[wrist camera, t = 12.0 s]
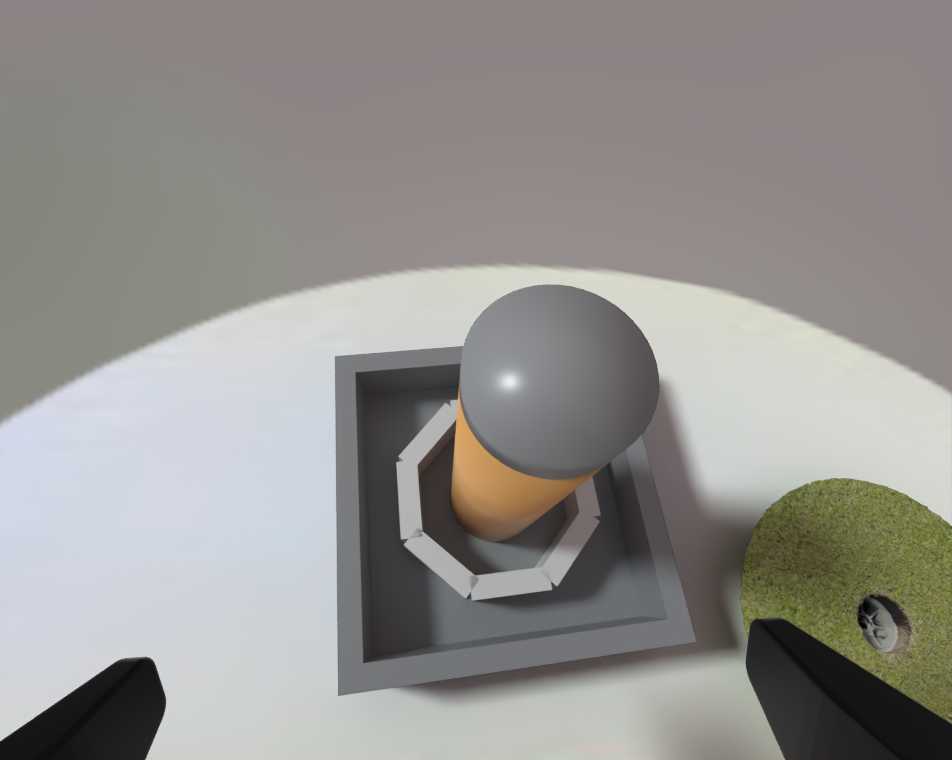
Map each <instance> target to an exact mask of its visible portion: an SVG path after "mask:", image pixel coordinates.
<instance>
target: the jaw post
mask: <svg viewBox="0 0 952 760" xmlns="http://www.w3.org/2000/svg"><path fill="white" fill-rule="evenodd" d="M658 394H659V374H658V369H657V363H656V360H655V357H654V354H653V351H652V349H651V347H650V345H649V343H648V341H647V339H646V338H645V336H644V334H643V333H642V331H641V330H640V329H639V327H638V326H637V325H636V324H635V323H634V321H633V320H632V319H631V318H630V317H629V316H628V315H627V314H626V313H624V312H623V311H622V310H621V309H619V308H618V307H617V306H616V305H614V304H612V303H611V302H609V301H608V300H606V299H604V298H602V297H600V296H598V295H596V294H594V293H591V292H589V291H586V290H583V289H579V288H575V287H571V286H564V285H537V286H531V287H526V288H522V289H519V290H516V291H513V292H511V293H509V294H507V295H505V296H503V297H501V298H500V299H498V300H497V301H495V302H494V303H492V304H491V305H490V306H489V307H488V308H486V309H485V310H484V311H483V312H482V313H481V315H480V316H479V317H478V318H477V319H476V321H475V322H474V324H473V325H472V327H471V329H470V331H469V333H468V335H467V337H466V340H465V343H464V347H463V350H462V357H461V367H460V380H459V394H458V407H457V420H456V433H455V446H454V460H453V473H452V486H451V506H452V510H453V513H454V515H455V518H456V519H457V521H458V523H459V524H460V525H461V527H462V528H463V529H464V530H465V531H466V532H468V533H469V534H470V535H472V536H474V537H475V538H478V539H480V540H483V541H488V542H500V541H505V540H508V539H511V538H513V537H515V536H516V535H518V534H519V533H520V532H522V531H523V530H524V529H526V528H527V527H528V526H529V525H531V524H532V523H533V522H534V521H536V520H537V519H538V518H539V517H541V516H542V515H543V514H545V513H546V512H547V511H548V510H550V509H551V508H552V507H553V506H555V505H556V504H557V503H559V502H560V501H561V500H562V499H564V498H565V497H566V496H567V495H569V494H570V493H571V492H573V491H574V490H575V489H576V488H578V487H579V486H580V485H581V484H583V483H584V482H585V481H586V480H588V479H589V478H590V477H592V476H593V475H594V474H595V473H597V472H598V471H599V470H600V469H602V468H603V467H604V466H606V465H607V464H608V463H609V462H611V461H612V460H613V459H614V458H616V457H617V456H618V455H620V454H621V453H622V452H623V451H625V450H626V449H627V448H628V447H629V446H631V445H632V444H633V443H634V442H635V441H636V440H637V439H638V438H639V437H640V436H641V434H642V433H643V432H644V431H645V429H646V427H647V426H648V424H649V423H650V421H651V419H652V416H653V414H654V411H655V409H656V405H657V401H658Z"/></svg>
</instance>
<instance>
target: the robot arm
mask: <svg viewBox="0 0 952 760" xmlns="http://www.w3.org/2000/svg"><path fill="white" fill-rule="evenodd" d="M746 669H747V673H748V676H749V679H750V682H751V684H752V686H753V688H754V691H755V693H756V695H757V697H758V700H759V702H760V704H761V706H762V709H763V711H764V713H765V715H766V718H767V720H768V722H769V724H770V727H771V729H772V731H773V733H774V736H775V738H776V740H777V742H778V745H779V747H780V749H781V751H782V754H783V756H784V758H785V760H952V723H950V722H949V721H947V720H945V719H944V718H942V717H941V716H939V715H937V714H936V713H934V712H933V711H931V710H929V709H928V708H926V707H925V706H923V705H921V704H920V703H918V702H917V701H915V700H914V699H912V698H910V697H909V696H907V695H906V694H904V693H902V692H901V691H899V690H898V689H896V688H894V687H893V686H891V685H890V684H888V683H886V682H885V681H883V680H882V679H880V678H878V677H877V676H875V675H874V674H872V673H870V672H869V671H867V670H866V669H864V668H862V667H861V666H859V665H858V664H856V663H855V662H853V661H851V660H850V659H848V658H847V657H845V656H843V655H842V654H840V653H839V652H837V651H835V650H834V649H832V648H831V647H829V646H827V645H826V644H824V643H823V642H821V641H819V640H818V639H816V638H815V637H813V636H811V635H810V634H808V633H807V632H805V631H803V630H802V629H800V628H799V627H797V626H795V625H794V624H792V623H791V622H789V621H787V620H786V619H783V618H780V617H768V618H756V619H754V620H753V621H752V622H751V624H750V629H749V637H748V646H747V654H746ZM165 707H166V697H165V693H164V690H163V687H162V684H161V681H160V678H159V675H158V671H157V668H156V665H155V663H154V661H153V660H152V659H151V658H148V657H136V658H125V659H121V660H118V661H117V662H115V663H114V664H112V665H111V666H109V667H108V668H106V669H105V670H103V671H102V672H100V673H99V674H98V675H96V676H95V677H93V678H92V679H90V680H89V681H87V682H86V683H84V684H83V685H82V686H80V687H79V688H77V689H76V690H74V691H73V692H71V693H70V694H68V695H67V696H66V697H64V698H63V699H61V700H60V701H58V702H57V703H55V704H54V705H52V706H51V707H50V708H48V709H47V710H45V711H44V712H42V713H41V714H39V715H38V716H36V717H35V718H34V719H32V720H31V721H29V722H28V723H26V724H25V725H23V726H22V727H20V728H19V729H18V730H16V731H15V732H13V733H12V734H10V735H9V736H7V737H6V738H4V739H3V740H2V741H0V760H145V759H146V757H147V755H148V752H149V750H150V747H151V745H152V743H153V740H154V738H155V735H156V733H157V731H158V728H159V726H160V723H161V721H162V718H163V716H164V712H165Z"/></svg>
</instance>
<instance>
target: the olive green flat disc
mask: <svg viewBox="0 0 952 760" xmlns="http://www.w3.org/2000/svg"><path fill="white" fill-rule="evenodd" d="M741 575H742V579H743V580H742V584H741V586H740V588H741V594H742V595H741V597H740V601H741V602H742V604H743V605H742V610H743V616H744V626H745V628H746V632H747V637H749V629H750V624H751V622H752V621H753V620H754V619H756V618H768V617H780V618H783V619H786V620H787V621H789V622H791V623H792V624H794V625H795V626H797V627H799V628H800V629H802V630H803V631H805V632H807V633H808V634H810V635H811V636H813V637H815V638H816V639H818V640H819V641H821V642H823V643H824V644H826V645H827V646H829V647H831V648H832V649H834V650H835V651H837V652H839V653H840V654H842V655H843V656H845V657H847V658H848V659H850V660H851V661H853V662H855V663H856V664H858V665H859V666H861V667H862V668H864V669H866V670H867V671H869V672H870V673H872V674H874V675H875V676H877V677H878V678H880V679H882V680H883V681H885V682H886V683H888V684H890V685H891V686H893V687H894V688H896V689H898V690H899V691H901V692H902V693H904V694H906V695H907V696H909V697H910V698H912V699H914V700H915V701H917V702H918V703H920V704H921V705H923V706H925V707H926V708H928V709H929V710H931V711H933V712H934V713H936V714H937V715H939V716H941V717H942V718H944V719H945V720H947V721H949V722H950V723H952V526H951V525H950V524H949V523H947V522H946V521H945V520H943V519H942V518H941V516H939V515H937V514H935V513H933V512H932V511H930V510H929V509H928V508H927V506H924V505H921V504H920V503H918V502H917V501H915V500H913V499H912V498H910V497H908V496H907V495H906V494H903V493H899V492H898V491H896V490H893V489H890V488H888V487H886V486H883V485H878V484H874V483H869V482H867V481H860V480H853V479H849V478H848V479H844V478H842V479H837V478H832V479H829V480H823V481H819V480H818V481H815V482H812V483H811V485H810V484H806V485H803V486H801V487H800V488H798V489H795V490H793V491H790V492H788V493H787V494H786V495H785V496H783V497H782V498H781V499H780V500H778V501H777V502H775V503H774V504H772V506H771V507H770V508H769V509H767V510H766V513H764V514H763V517H762V518H761V520H760V521H759V523H758V524H757V525H756V526H755V528H754V531H753V534H752V537H751V540H750V542H749V544H748V547H747V550H746V554H745V559H744V564H743V569H742V574H741Z"/></svg>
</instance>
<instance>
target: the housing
mask: <svg viewBox="0 0 952 760" xmlns="http://www.w3.org/2000/svg"><path fill="white" fill-rule="evenodd" d="M463 347H464V346H459V347H447V348H434V349H421V350H409V351H396V352H384V353H371V354H358V355H346V356H335V400H336V511H337V621H338V696H341V695H347V694H354V693H360V692H367V691H374V690H380V689H387V688H394V687H400V686H407V685H414V684H420V683H427V682H434V681H440V680H447V679H453V678H460V677H467V676H473V675H480V674H487V673H493V672H500V671H507V670H513V669H520V668H526V667H533V666H540V665H546V664H553V663H560V662H566V661H573V660H580V659H586V658H593V657H600V656H606V655H613V654H619V653H626V652H633V651H639V650H646V649H653V648H659V647H666V646H673V645H679V644H686V643H692V642H696V638H695V634H694V630H693V627H692V623H691V619H690V615H689V611H688V608H687V604H686V600H685V596H684V593H683V589H682V585H681V581H680V577H679V574H678V570H677V566H676V562H675V559H674V555H673V551H672V547H671V543H670V540H669V536H668V532H667V528H666V524H665V521H664V517H663V513H662V509H661V506H660V502H659V498H658V494H657V490H656V487H655V483H654V479H653V475H652V471H651V468H650V464H649V460H648V456H647V453H646V449H645V445H644V441H643V437H642V434H641V436H640V437H639V438H638V439H637V440H636V441H635V442H634V443H633V444H632V445H631V446H629V447H628V448H627V449H626V450H625V451H623V452H622V453H621V454H620V455H618V456H617V457H616V458H614V459H613V460H612V461H611V462H609V463H608V464H607V465H606V466H604V467H603V468H602V469H600V470H599V471H598V472H597V473H595V474H594V475H593V476H592V477H590V478H589V479H588V480H586V481H585V482H584V483H583V484H581V485H580V486H579V487H578V488H576V489H575V490H574V491H573V492H571V493H570V494H569V495H567V496H566V497H565V498H564V499H562V500H561V501H560V502H559V503H557V504H556V505H555V506H553V507H552V508H551V509H550V510H548V511H547V512H546V513H545V514H543V515H542V516H541V517H539V518H538V519H537V520H536V521H534V522H533V523H532V524H531V525H529V526H528V527H527V528H526V529H524V530H523V531H522V532H520V533H519V534H518V535H516V536H515V537H513V538H511V539H508V540H505V541H500V542H488V541H483V540H480V539H478V538H475V537H474V536H472V535H470V534H469V533H468V532H466V531H465V530H464V529H463V528H462V527H461V525H460V524H459V523H458V521H457V519H456V518H455V515H454V513H453V510H452V506H451V486H452V473H453V460H454V446H455V433H456V420H457V407H458V394H459V380H460V367H461V357H462V350H463Z"/></svg>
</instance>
